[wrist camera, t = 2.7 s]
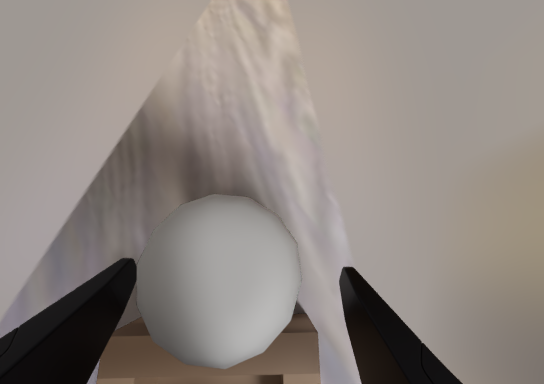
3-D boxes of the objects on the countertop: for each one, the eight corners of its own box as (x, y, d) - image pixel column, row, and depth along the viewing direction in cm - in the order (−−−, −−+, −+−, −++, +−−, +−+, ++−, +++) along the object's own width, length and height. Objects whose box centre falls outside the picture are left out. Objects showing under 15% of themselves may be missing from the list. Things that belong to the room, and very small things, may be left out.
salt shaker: (200, 270, 17) (21, 321, 5) (241, 207, 19) (183, 118, 6) (265, 314, 17) (254, 505, 4) (303, 245, 18) (382, 232, 5)
